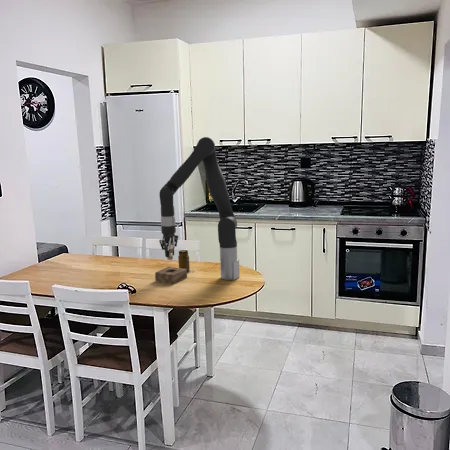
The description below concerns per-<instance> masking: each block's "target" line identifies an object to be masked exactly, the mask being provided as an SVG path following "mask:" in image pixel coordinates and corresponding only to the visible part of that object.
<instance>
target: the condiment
mask: <svg viewBox="0 0 450 450" xmlns="http://www.w3.org/2000/svg"><path fill="white" fill-rule="evenodd" d="M177 257H178V268H183V269H187V274H191V273H194V272H195V271H194V270H191V269H190V256H189V251H188V250H187V249H182V250H179V251H178V256H177Z"/></svg>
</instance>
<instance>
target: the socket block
mask: <svg viewBox="0 0 450 450" xmlns="http://www.w3.org/2000/svg"><path fill="white" fill-rule="evenodd" d="M154 274H155V275H154V277H155V282H156V283H164V284H168V285H169V284H170V285H176V284H178V283H180V282H182V281H184V280H186V279H188V273H187V269H183V268H179V267H173V266H166V267H165V268H163V269H159V270H158V271H155V273H154Z"/></svg>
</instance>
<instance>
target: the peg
mask: <svg viewBox="0 0 450 450" xmlns="http://www.w3.org/2000/svg"><path fill="white" fill-rule="evenodd" d="M166 247H167V246H166ZM172 252H173V245H172V244H170V246H169V255H170V257H166V260H169V261H170V260H171V261H172V260H174V257H173V256H174V255H173V253H172Z"/></svg>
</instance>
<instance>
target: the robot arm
mask: <svg viewBox="0 0 450 450" xmlns="http://www.w3.org/2000/svg"><path fill="white" fill-rule="evenodd" d="M201 162H202V164H203V166H204V172H205V179H206V185H207V187H208V191H209V195H210V196H211V199H212V200H213V203H214V204H215V205H216V206H215V207H216V209H217V211H218V215H219V221H218V224H217V238H218V243H219V262H220V265H219V266H220V267H219V268H220V278H221V279H222V280H226V281H234V280H236V279H238V278H240V276H241V275H240V259H238V242H237V235H236V234H237V233H236V229H237V228H238V220H237V219H236V217H235V216H236V215H235V213H234V211H233V208H232V205H231V200H230V197H229V196H230V195H229V191H228V188H227V184H226V180H225V177H224V175H223V171H222V169H221V167H220V165H219V162H218V158H217V153H216V144H215V142H214V140H213V139H212V138H210V137H208V136H204V137H201V138H200V139H199V140H198V141H197V143H196V146H195V147H194V148H193V151H192V152H191V153H190V155H189V156H188V157H187V158H186V160H185V161H184V162H183V163H182V164H181V165H180V166H179V167H178V168H177V170H176V171H175V172H174V173H173V174H172V175H171V177H170V179H169V180H167V182H166V183H165V184H164V185H163V186H162V187H161V189H160V190H159V204H160V230H161V231H160V232H161V234H162V239H159V241H158V242H159V245H160V247H161V250H162V251H163V250H164V256H165V257H166V258H167V257H170V255H169V246H170V244H172V245H173V252H172V253H173V256H175V248H176V247H177V246H178V241H179V235H176V232H177V230H176V229H177V227H176V226H177V225H176V217H175V206H174V195H175V194H176V192H177V191H178V190H179V189H180V188H181V187H182V186H183V185H184V184H185V182H187V180H188V179H189V178H190V176H191V175H192V174H193V172H194V171H195V170H196V168H197V167H198V166H199V165H200V164H201ZM166 246H167V247H166Z"/></svg>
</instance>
